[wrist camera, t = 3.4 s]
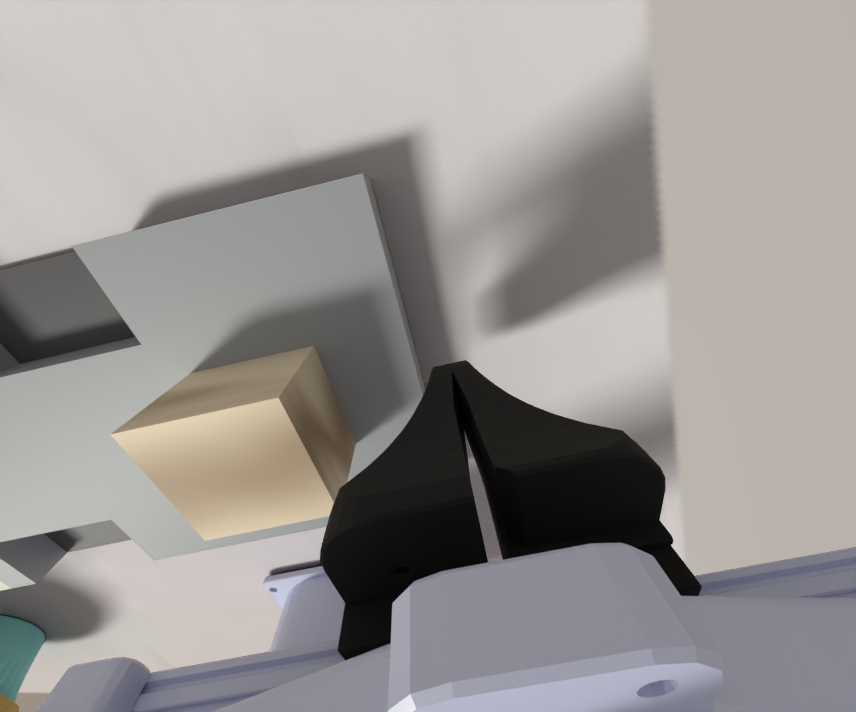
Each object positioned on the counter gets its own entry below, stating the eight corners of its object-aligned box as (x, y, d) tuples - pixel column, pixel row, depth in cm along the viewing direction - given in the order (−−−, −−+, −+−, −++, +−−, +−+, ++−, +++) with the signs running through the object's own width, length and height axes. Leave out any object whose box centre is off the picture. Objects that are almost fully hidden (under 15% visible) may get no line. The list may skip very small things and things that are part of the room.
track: (447, 471, 18) (454, 523, 15) (-39, 569, 19) (-119, 634, 16) (370, 178, 11) (356, 168, 8) (-367, 362, 12) (-601, 409, 10)
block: (355, 443, 14) (340, 514, 11) (250, 465, 14) (204, 540, 11) (313, 345, 12) (278, 397, 8) (189, 373, 12) (110, 434, 9)
